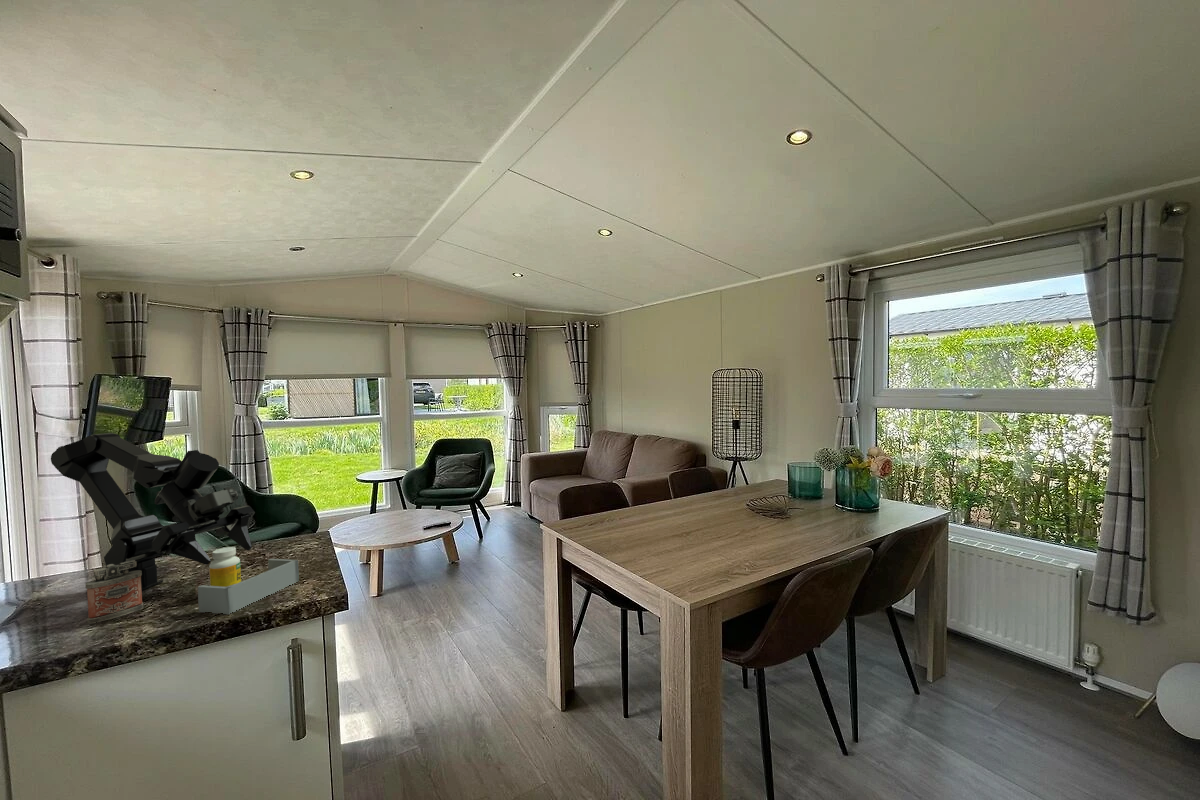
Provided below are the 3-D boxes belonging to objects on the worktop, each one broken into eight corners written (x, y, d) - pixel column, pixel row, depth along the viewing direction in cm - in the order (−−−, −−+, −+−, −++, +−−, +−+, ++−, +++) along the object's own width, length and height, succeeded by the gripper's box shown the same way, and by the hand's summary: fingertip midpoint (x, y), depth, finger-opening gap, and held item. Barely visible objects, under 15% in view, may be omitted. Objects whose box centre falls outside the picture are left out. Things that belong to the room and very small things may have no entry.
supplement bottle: (210, 594, 107) (207, 549, 107) (240, 587, 110) (238, 544, 110) (211, 601, 103) (208, 555, 102) (242, 594, 106) (240, 549, 106)
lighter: (90, 624, 93) (87, 572, 93) (85, 621, 95) (82, 569, 95) (146, 608, 100) (143, 559, 100) (140, 605, 102) (137, 557, 102)
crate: (198, 611, 97) (197, 586, 97) (272, 580, 114) (271, 558, 114) (229, 614, 96) (227, 588, 96) (298, 581, 112) (297, 559, 112)
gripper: (159, 486, 98) (206, 543, 95) (246, 470, 116) (288, 518, 113) (131, 524, 99) (176, 582, 97) (221, 503, 118) (261, 551, 115)
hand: (230, 555), depth 106 cm, fingers open, 9 cm apart
